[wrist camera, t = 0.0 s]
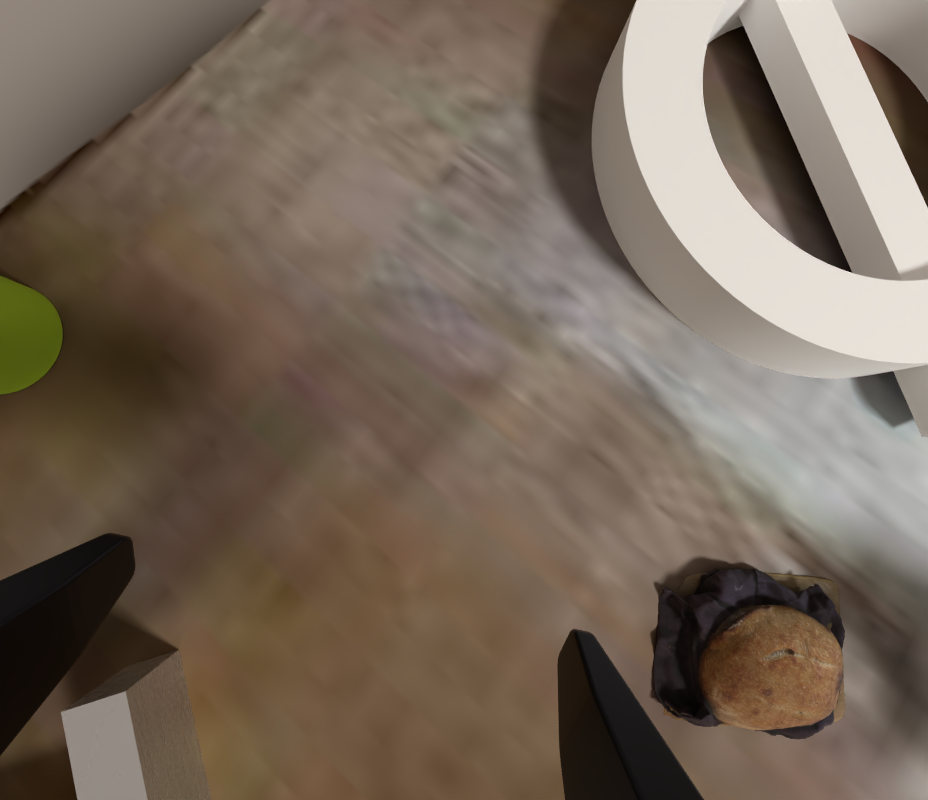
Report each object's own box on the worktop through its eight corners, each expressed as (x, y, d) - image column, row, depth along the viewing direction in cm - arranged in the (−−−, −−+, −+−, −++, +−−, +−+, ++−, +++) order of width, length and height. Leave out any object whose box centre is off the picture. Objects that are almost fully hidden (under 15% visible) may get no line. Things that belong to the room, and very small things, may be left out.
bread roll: (829, 569, 26) (894, 588, 22) (834, 727, 25) (902, 773, 21) (649, 559, 25) (686, 577, 22) (646, 721, 24) (684, 767, 21)
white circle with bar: (688, -101, 30) (736, -202, 26) (1052, 87, 31) (1164, 20, 26) (515, 249, 27) (533, 205, 22) (935, 458, 27) (1042, 459, 22)
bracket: (215, 817, 22) (167, 899, 18) (27, 885, 21) (-68, 987, 17) (179, 649, 22) (125, 691, 18) (-4, 707, 21) (-102, 764, 17)
